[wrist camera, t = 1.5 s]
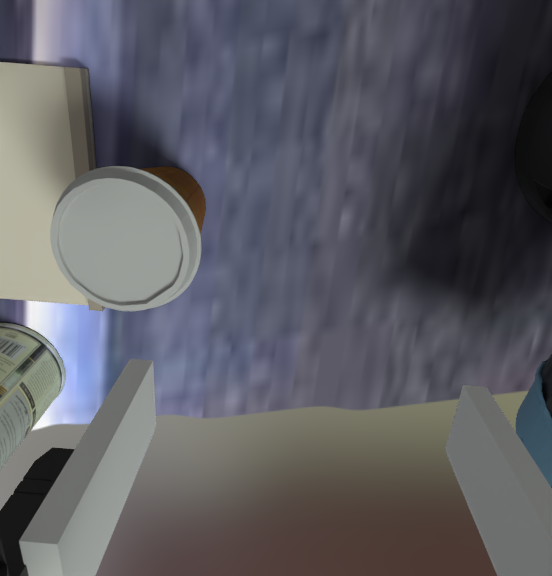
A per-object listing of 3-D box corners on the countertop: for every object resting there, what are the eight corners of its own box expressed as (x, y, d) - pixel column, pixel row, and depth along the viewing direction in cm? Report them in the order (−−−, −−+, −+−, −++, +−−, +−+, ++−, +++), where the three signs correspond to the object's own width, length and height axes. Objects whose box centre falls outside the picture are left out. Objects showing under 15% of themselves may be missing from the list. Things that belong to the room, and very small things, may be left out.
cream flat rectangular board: (88, 68, 35) (79, 68, 34) (108, 303, 43) (102, 311, 42) (-119, 53, 35) (-136, 51, 34) (-61, 290, 43) (-73, 297, 42)
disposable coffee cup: (127, 260, 41) (66, 322, 30) (102, 150, 37) (22, 176, 26) (231, 252, 41) (208, 313, 30) (216, 140, 37) (183, 162, 26)
